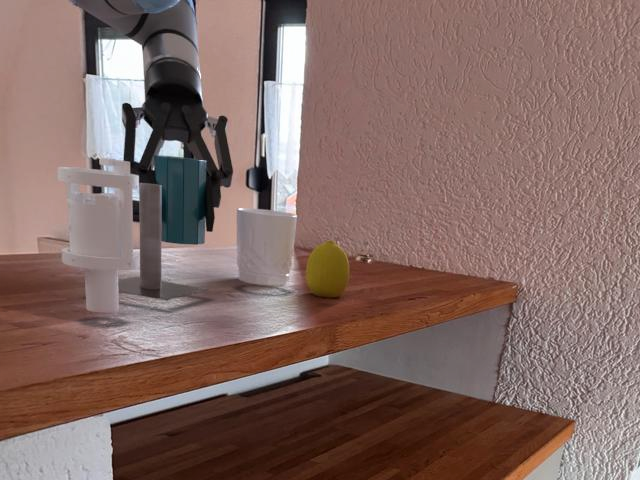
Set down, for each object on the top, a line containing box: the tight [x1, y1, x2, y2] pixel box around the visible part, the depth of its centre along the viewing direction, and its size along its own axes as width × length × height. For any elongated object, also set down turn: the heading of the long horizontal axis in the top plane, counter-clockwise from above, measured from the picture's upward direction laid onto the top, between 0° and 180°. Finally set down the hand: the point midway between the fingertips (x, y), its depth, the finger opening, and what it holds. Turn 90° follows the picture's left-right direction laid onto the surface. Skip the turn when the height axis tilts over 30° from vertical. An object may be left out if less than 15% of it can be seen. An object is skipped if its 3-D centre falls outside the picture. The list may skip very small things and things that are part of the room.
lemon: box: [305, 239, 350, 299], centre depth 93 cm, size 6×6×8 cm
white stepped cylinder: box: [57, 157, 140, 314], centre depth 70 cm, size 7×7×15 cm
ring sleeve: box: [153, 154, 207, 246], centre depth 93 cm, size 6×6×10 cm
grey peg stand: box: [118, 183, 209, 301], centre depth 83 cm, size 10×10×12 cm
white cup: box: [236, 207, 298, 287], centre depth 98 cm, size 8×8×10 cm
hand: (182, 222), depth 91 cm, fingers closed on ring sleeve, 6 cm apart
